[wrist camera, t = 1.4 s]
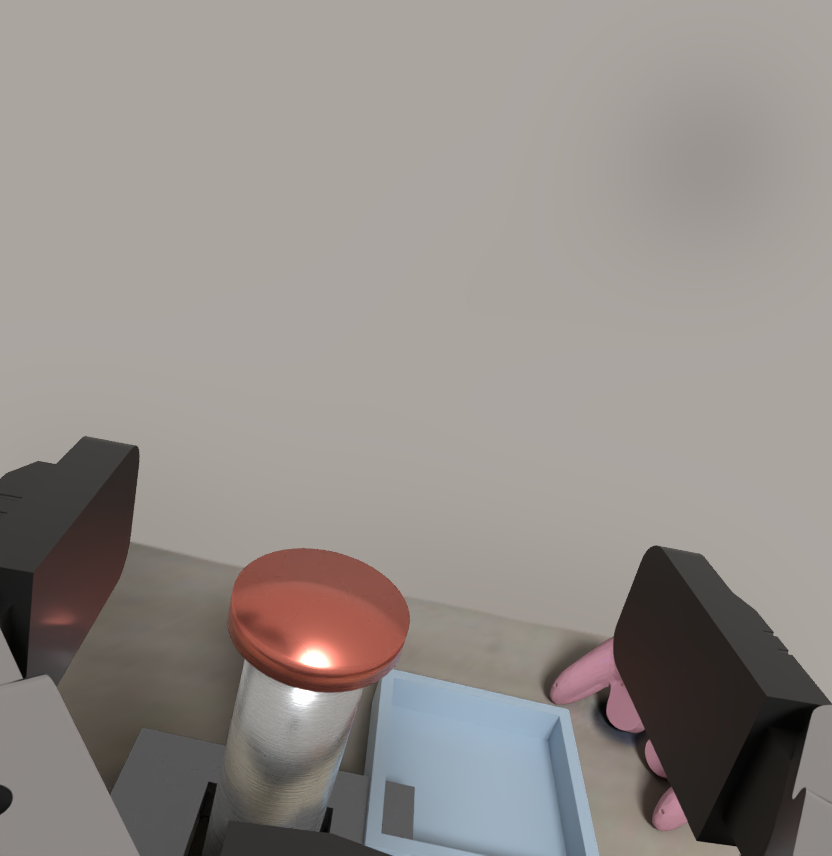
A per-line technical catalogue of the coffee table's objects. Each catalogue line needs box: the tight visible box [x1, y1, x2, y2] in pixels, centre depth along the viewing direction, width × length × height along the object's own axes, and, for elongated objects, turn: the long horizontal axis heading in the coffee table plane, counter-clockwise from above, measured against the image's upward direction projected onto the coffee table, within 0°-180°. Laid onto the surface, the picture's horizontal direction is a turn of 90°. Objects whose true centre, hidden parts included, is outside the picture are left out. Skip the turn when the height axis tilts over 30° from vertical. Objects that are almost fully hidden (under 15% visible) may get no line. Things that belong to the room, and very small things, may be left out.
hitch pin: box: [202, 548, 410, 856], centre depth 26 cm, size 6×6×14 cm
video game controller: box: [550, 637, 688, 831], centre depth 40 cm, size 10×5×7 cm, turn 29°
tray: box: [364, 669, 599, 856], centre depth 35 cm, size 10×10×2 cm
